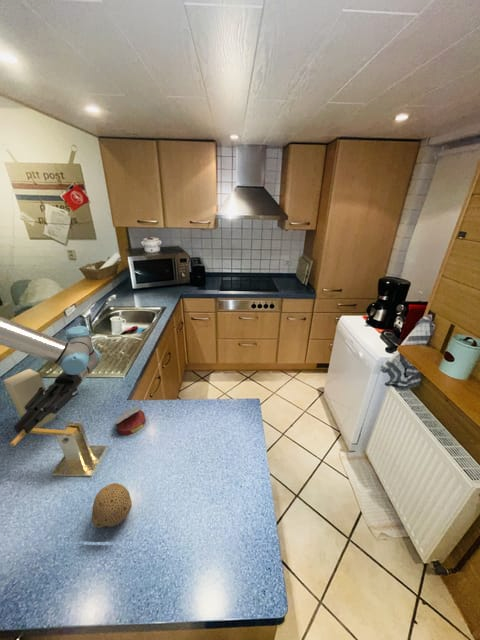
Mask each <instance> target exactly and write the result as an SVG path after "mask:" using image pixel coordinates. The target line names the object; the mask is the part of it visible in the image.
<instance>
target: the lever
mask: <svg viewBox="0 0 480 640" xmlns="http://www.w3.org/2000/svg"><path fill="white" fill-rule="evenodd" d="M58 433H68V434H74V437H75V438H76V436H77V435H78V430H77V428H71V427H67V428H65V430H64V429H52V428H41V427H40V428H33V429H32V430H31V431H30V432H29V433H25V431H24V429H23V430H22V431H21V432H20V433H17V435H16V437H14V438H13V439H12V441H11V442H10V443H9V446H11V447H16V445H17V444H18V443H19V442H21V440H22V439H23V438H24V437H25V436H26V435H27V434H37V435H38V434H39V435H51V436H57V434H58Z"/></svg>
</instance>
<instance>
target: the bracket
mask: <svg viewBox="0 0 480 640" xmlns="http://www.w3.org/2000/svg"><path fill="white" fill-rule="evenodd" d="M64 426H65V429H67V427H71V428H77V430H78V435H77V436H76V438H75V437H74V434H68V433H58V434H57V435H55V436H56V439H57V442H58V444H59V446H60V449H61V451H62V453H63V457H62V458H61V459H60V461H59V462H58V463H57V465H56V467H55V468H54V470H53V471H52V472H51V474H50V475H51V476H52V477H80V478H81V477H84V478H85V477H86V478H87V477H90V478H92V477H93V475H94V473H95V471H96V469H97V467H98V466H99V465H100V463H101V460H102V459H103V457H104V455H105V453H106V451H107V450H108V447H109V446H108V445H90V443H89V440H88V437H87V435H86V431H85V429H84V426H83V423H82V422H74V421H73V422H71V421H70V422H69V421H67V422H66V423H65V424H64Z"/></svg>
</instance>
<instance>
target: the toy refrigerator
mask: <svg viewBox="0 0 480 640" xmlns="http://www.w3.org/2000/svg"><path fill="white" fill-rule="evenodd" d="M3 383H4V386H5V388H6V390H7V392H8V394H9V396H10V398H11V401H12V402H13V405H14V407H15V409H16V411H17V413H18V415H19V417H20V418H21V417H22V416H23V415H24V414H25V413H26V410H25V408H24V407H25V406H26V404H27V403H28V402H29V401H30V400H31V399H32V398H33V396H34V395H35V394H36V393H37V392H38V389H39V388H40V387H43V389H44V388H46V387H45V386H46V385H45V384H44V382H43V379H42V376H41V374H40V373H39V372H37V371H35V370H33V369H31V368H27V369H24V370H23V371H21V372H18V373H16V374H14V375H12V376H10V377H8V378H5V379H3ZM45 406H46V405H45ZM41 409H42V411H43V408H41ZM55 418H57V413H55V414H53V413H50V414H49V415H47V416H46V417H45V418H44V419H43V420H42V421H41V422H38V424H37V425H36V426H35V427H34V428H41V427H43V426H44V425H46V424H48V423H49V422H50V421H52V420H54V419H55Z"/></svg>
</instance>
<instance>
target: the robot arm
mask: <svg viewBox="0 0 480 640" xmlns="http://www.w3.org/2000/svg"><path fill="white" fill-rule="evenodd" d="M65 339H66V340H67V342H66V341H64V340H61V339H58V338H57V337H53V336H52V335H49V334H46V333H44V332H41V331H38V330H36V329H34V328H31V327H28V326H26V325H23V324H21V323H18V322H15V321H13V320H11V319H8V318H5V317H3V316H0V346H2V347H5V348H9V349H12V350H15V351H18V352H21V353H24V354H27V355H30V356H32V357H35V358H39V359H42V360H44V361H48V362H50V363H54V364H56V365H59V366H60V368H61V370H62V372H61V373H60V374H59V375H57V376H56V378H55V379H54V381H53V383H52V384H50V385H49V386H48V387H45V388H44V389H43V387H40V388H39V389H38V392H37V393H36V394H35V395H34V396H33V398H32V399H31V400H30V401H29V402H28V403H27V404H26V406H25V407H24V408H25V410H26V413H25V414H24V415H23V416H22V417H20V419H19V420H18V421H17V422H16V423H15V424H14V425H13V428H14V431H15V433H16V434H19V433H20V432H21V431H22V430H23V429H24V431H25V433H27V434H30V433H29V432H30V431H31V430H32V429H33V428H34V427H35V426H36V425H37V424H38V422H41V421H42V420H43V419H44V418H45V417H46V416H47V415H49V414H50V413H53V414H57V413H58V412H59V411H61V409H62V408H63V407H65V405H67V404H68V403H69V402H70V401H71V400H72V399H73V398H75V397H76V396H78V395H79V391H78V387H79V386H81V384H82V383H83V382H84V380H86V378H87V377H88V376H89V375H90V374H91V373H92V372H93V371H94V370H95V369H96V368H97V367H98V365H99V364H100V362H102V358H103V356H102V354H101V353H100V351H99V350H98V349H96V348H94V345H93V342H92V338H91V333H90V331H89V328H88V327H87V326H85V325H77V326H71V327H69V328H68V329H67V330H66V331H65ZM45 405H46V406H45ZM41 408H43V411H42V409H41Z"/></svg>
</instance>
